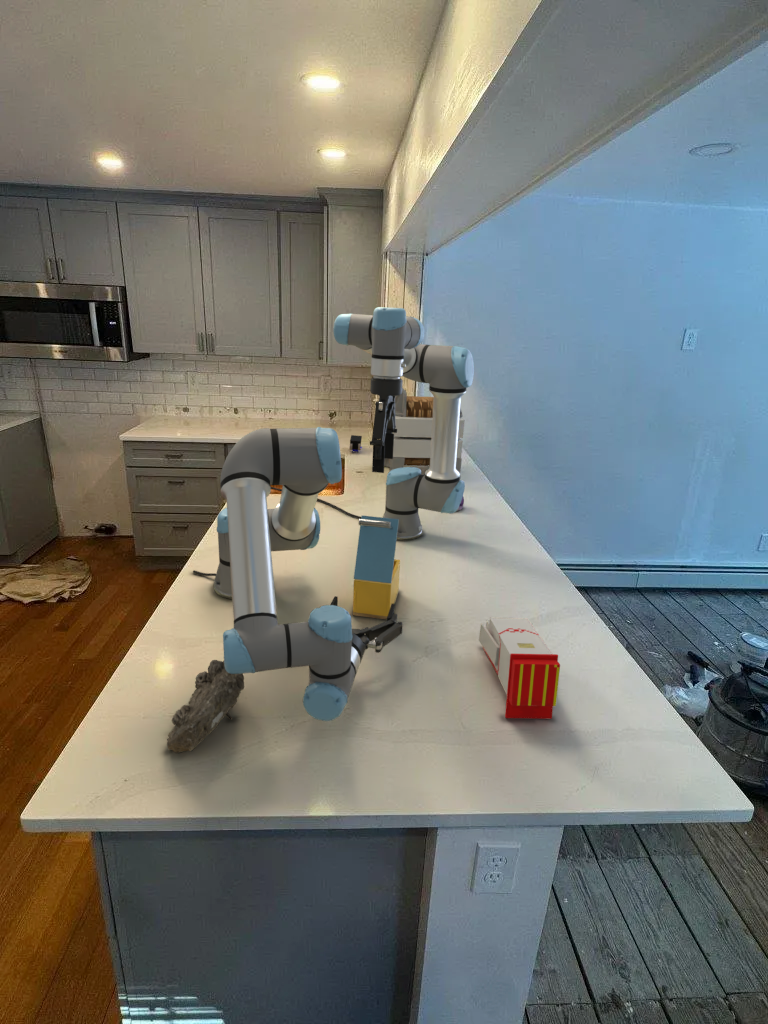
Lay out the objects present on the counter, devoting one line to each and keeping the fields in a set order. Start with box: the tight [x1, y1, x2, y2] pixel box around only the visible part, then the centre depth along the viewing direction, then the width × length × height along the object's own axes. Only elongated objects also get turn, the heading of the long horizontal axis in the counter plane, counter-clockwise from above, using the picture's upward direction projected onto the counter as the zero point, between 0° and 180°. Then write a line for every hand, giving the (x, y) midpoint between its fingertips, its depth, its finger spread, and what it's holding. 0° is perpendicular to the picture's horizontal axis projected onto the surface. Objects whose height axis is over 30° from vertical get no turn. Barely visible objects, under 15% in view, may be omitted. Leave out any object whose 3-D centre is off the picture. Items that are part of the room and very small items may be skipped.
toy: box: [478, 616, 561, 720], centre depth 122 cm, size 12×13×30 cm
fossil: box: [166, 659, 245, 754], centre depth 106 cm, size 22×10×15 cm
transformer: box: [384, 387, 465, 475], centre depth 268 cm, size 34×33×41 cm
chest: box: [352, 558, 401, 621], centre depth 151 cm, size 16×10×10 cm, turn 170°
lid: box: [353, 515, 399, 583], centre depth 139 cm, size 16×10×8 cm
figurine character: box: [349, 434, 363, 454], centre depth 310 cm, size 7×8×15 cm
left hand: (364, 605), depth 133 cm, fingers open, 13 cm apart
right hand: (382, 465), depth 140 cm, fingers open, 13 cm apart
